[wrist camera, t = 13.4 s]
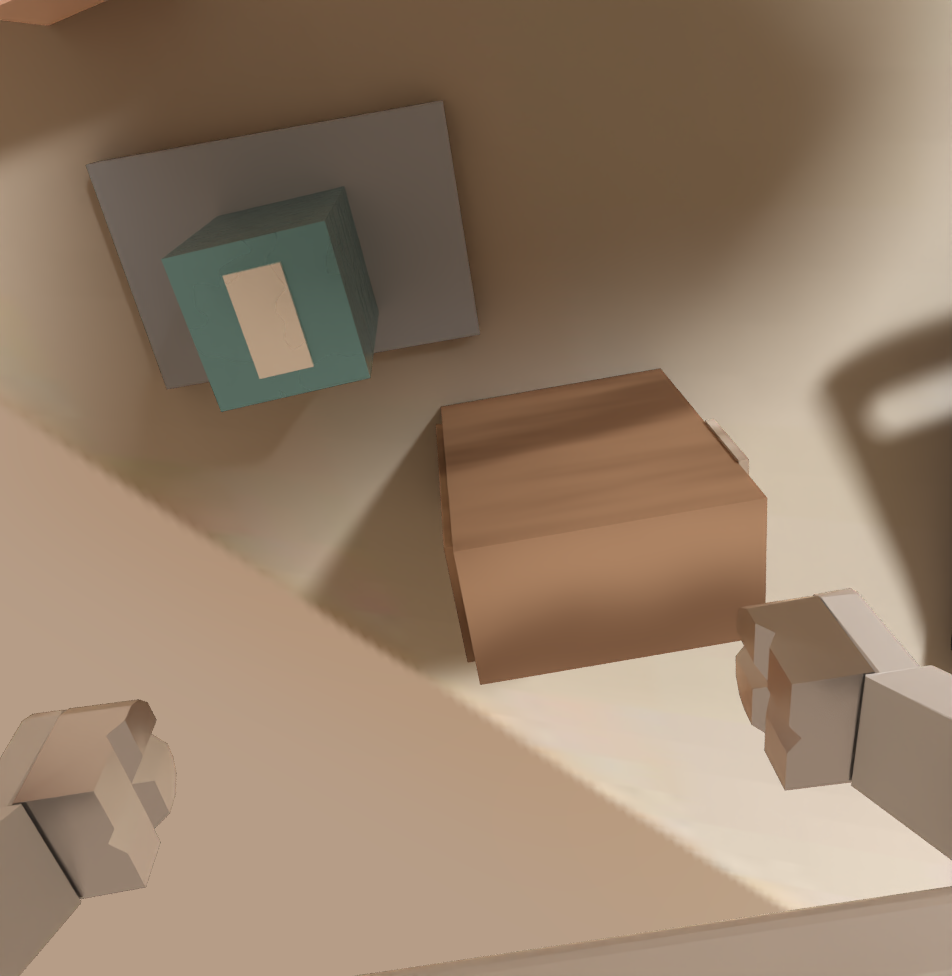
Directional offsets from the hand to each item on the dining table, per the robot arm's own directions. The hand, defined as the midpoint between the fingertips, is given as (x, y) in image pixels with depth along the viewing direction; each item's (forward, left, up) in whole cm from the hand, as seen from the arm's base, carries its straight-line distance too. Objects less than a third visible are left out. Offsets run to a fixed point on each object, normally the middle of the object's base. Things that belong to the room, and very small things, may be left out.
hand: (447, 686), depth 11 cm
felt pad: (-2, -4, -22) cm, 22 cm away
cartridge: (-2, -4, -21) cm, 21 cm away
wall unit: (+7, +4, -22) cm, 23 cm away
